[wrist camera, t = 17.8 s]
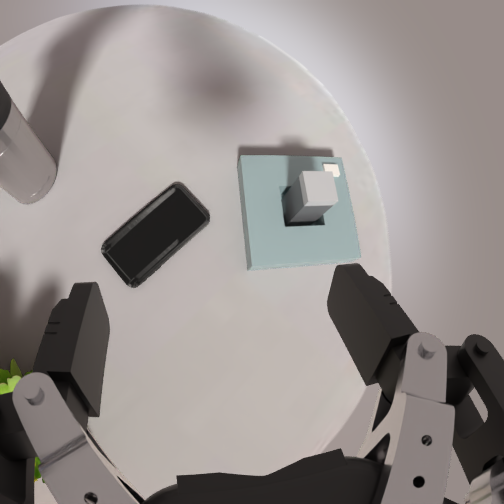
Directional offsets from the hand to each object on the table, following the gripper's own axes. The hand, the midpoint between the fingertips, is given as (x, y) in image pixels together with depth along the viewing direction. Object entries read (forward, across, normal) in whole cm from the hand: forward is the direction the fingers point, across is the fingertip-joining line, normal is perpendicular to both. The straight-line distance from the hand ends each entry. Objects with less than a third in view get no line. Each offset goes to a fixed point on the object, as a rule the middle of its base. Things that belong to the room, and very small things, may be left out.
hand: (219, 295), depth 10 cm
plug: (+32, -15, +13) cm, 38 cm away
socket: (+33, -15, +14) cm, 38 cm away
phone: (+32, +6, +16) cm, 36 cm away
